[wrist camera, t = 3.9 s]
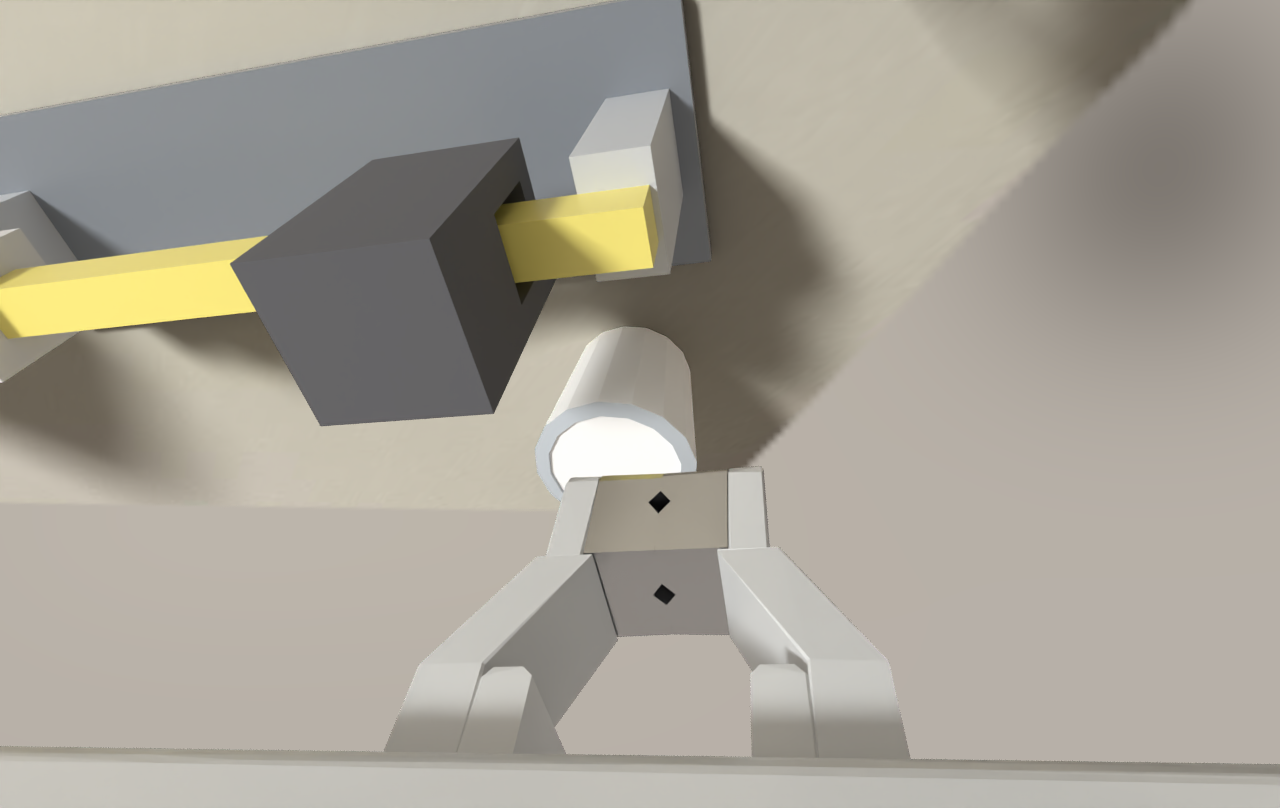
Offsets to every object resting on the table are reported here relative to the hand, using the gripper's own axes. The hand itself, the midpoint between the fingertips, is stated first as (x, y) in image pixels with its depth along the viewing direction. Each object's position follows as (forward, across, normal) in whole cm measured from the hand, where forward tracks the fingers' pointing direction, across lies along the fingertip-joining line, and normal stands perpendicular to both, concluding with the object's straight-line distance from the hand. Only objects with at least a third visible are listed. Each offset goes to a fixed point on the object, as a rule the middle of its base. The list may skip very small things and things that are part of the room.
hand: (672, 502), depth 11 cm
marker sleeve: (+14, +8, 0) cm, 16 cm away
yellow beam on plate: (+20, +17, 0) cm, 26 cm away
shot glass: (+20, +5, +11) cm, 24 cm away
